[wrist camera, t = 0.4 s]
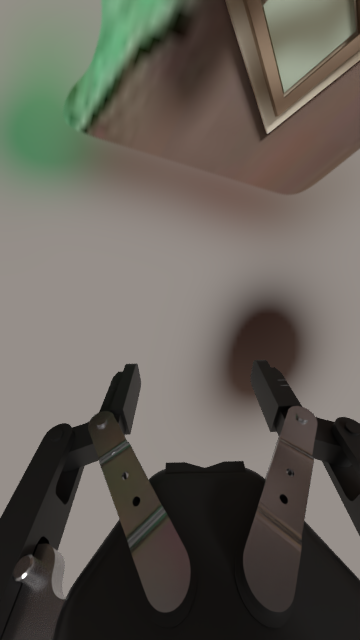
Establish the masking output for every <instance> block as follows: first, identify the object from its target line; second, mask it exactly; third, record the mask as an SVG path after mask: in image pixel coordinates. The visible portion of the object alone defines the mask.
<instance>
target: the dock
mask: <svg viewBox="0 0 360 640" xmlns="http://www.w3.org/2000/svg"><path fill="white" fill-rule="evenodd" d="M225 2H226V5H227V9H228V12H229V15H230V18H231V22H232V25H233V28H234V31H235V34H236V38H237V41H238V44H239V47H240V51H241V54H242V57H243V60H244V63H245V67H246V70H247V73H248V76H249V80H250V83H251V86H252V89H253V92H254V96H255V99H256V102H257V105H258V108H259V112H260V115H261V118H262V121H263V125H264V128H265V131H266V134H268V133H269V132H271V131H272V130H273V129H274V128H276V127H277V126H278V125H279V124H281V123H282V122H283V121H284V120H286V119H287V118H288V117H289V116H291V115H292V114H293V113H294V112H296V111H297V110H298V109H299V108H301V107H302V106H303V105H304V104H306V103H307V102H308V101H309V100H311V99H312V98H313V97H314V96H316V95H317V94H318V93H319V92H321V91H322V90H323V89H324V88H326V87H327V86H328V85H329V84H331V83H332V82H333V81H334V80H336V79H337V78H338V77H339V76H341V75H342V74H343V73H344V72H346V71H347V70H348V69H349V68H351V67H352V66H353V65H354V64H356V63H357V62H358V61H359V60H360V0H225Z"/></svg>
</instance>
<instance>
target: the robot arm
mask: <svg viewBox="0 0 360 640" xmlns="http://www.w3.org/2000/svg"><path fill="white" fill-rule="evenodd" d="M251 384H252V387H253V390H254V392H255V395H256V397H257V400H258V402H259V405H260V407H261V410H262V412H263V415H264V417H265V419H266V422H267V424H268V427H269V429H270V432H277V433H278V435H279V438H278V441H277V444H276V447H275V450H274V453H273V456H272V460H271V463H270V465H269V468H268V472H267V474H266V477H265V479H264V478H263V477H262V476H260V475H259V474H258V473H256V472H254V471H252V470H250V469H247V468H245V466H244V462H243V461H235V462H222V463H219V464H216V465H213V466H210V467H207V468H203V467H199V466H195V465H192V464H188V463H185V462H184V463H166V469H164V470H162V471H160V472H158V473H156V474H155V475H153V476H152V477H151V478H150V479H149V480H148V478H147V476H146V474H145V472H144V470H143V468H142V466H141V464H140V462H139V461H138V459H137V457H136V455H135V453H134V451H133V449H132V447H131V445H130V444H129V442H127V440H126V438H125V436H124V435H125V434H130V433H131V428H132V424H133V419H134V415H135V410H136V406H137V401H138V397H139V392H140V387H141V379H140V374H139V369H138V365H137V364H126V365H125V368H124V371H123V372H118V373H117V374H116V375H115V376H114V377H113V379H112V381H111V385H110V387H109V389H108V392H107V394H106V397H105V399H104V402H103V404H102V407H101V409H100V412H99V413H97V414H96V415H95V416H93V417H92V418H91V420H90V421H89V422H88V423H85V424H83V425H79V426H76V427H73V428H72V427H71V426H70V425H69V424H66V423H64V424H59V425H57V426H55V427H53V428H52V429H50V430H49V431H48V432H47V433H46V435H45V436H44V438H43V440H42V442H41V444H40V445H39V447H38V449H37V451H36V453H35V455H34V457H33V458H32V460H31V462H30V464H29V466H28V468H27V470H26V471H25V473H24V475H23V477H22V479H21V481H20V483H19V485H18V486H17V488H16V490H15V492H14V494H13V496H12V497H11V500H10V501H9V503H8V505H7V507H6V509H5V511H4V512H3V514H2V516H1V518H0V640H360V580H359V579H358V578H357V577H356V576H355V574H354V573H353V572H352V571H351V570H350V569H349V568H348V567H347V566H346V565H345V564H344V563H343V562H342V561H341V559H340V558H339V557H338V556H337V555H336V554H335V553H334V552H333V551H332V550H331V549H330V548H329V547H328V545H327V544H326V543H325V542H324V541H323V540H322V539H321V538H320V537H319V536H318V535H317V534H316V533H315V532H314V531H313V529H311V527H310V526H309V525H308V524H307V523H306V522H305V521H304V519H305V513H306V506H307V500H308V494H309V488H310V481H311V475H312V469H313V463H314V458H315V459H318V460H321V461H322V462H323V464H324V466H325V468H326V470H327V472H328V474H329V476H330V478H331V480H332V482H333V484H334V486H335V488H336V490H337V492H338V494H339V496H340V498H341V500H342V502H343V504H344V506H345V508H346V510H347V512H348V514H349V516H350V517H351V520H352V522H353V523H354V526H355V527H356V530H357V531H358V533H359V535H360V424H359V423H358V422H356V421H354V420H352V419H350V418H346V417H340V418H337V419H336V421H335V422H332V421H328V420H324V419H320V418H317V417H315V416H314V414H313V413H312V412H310V411H309V410H308V409H306V408H303V407H302V406H301V404H300V402H299V401H298V399H297V398H296V396H295V394H294V393H293V391H292V390H291V388H290V386H289V384H288V383H287V381H285V378H284V376H283V375H282V373H281V372H280V371H278V370H277V369H276V368H275V367H274V368H271V367H270V365H269V364H268V362H267V361H266V360H255V361H254V362H253V367H252V373H251ZM98 460H99V461H100V466H101V468H102V471H103V474H104V477H105V480H106V482H107V485H108V488H109V491H110V494H111V496H112V499H113V502H114V505H115V508H116V510H117V513H118V516H119V521H118V522H117V524H116V525H115V527H114V528H113V529H112V531H111V532H110V533H109V535H108V536H107V538H106V539H105V540H104V542H103V543H102V545H101V546H100V547H99V549H98V550H97V552H96V553H95V554H94V556H93V557H92V559H91V560H90V562H89V563H88V564H87V566H86V567H85V568H84V570H83V571H82V573H81V574H80V576H79V577H78V578H77V580H76V581H75V583H74V584H73V586H72V587H71V589H70V591H69V593H68V595H67V597H66V599H65V598H64V595H63V592H62V580H63V574H64V566H65V565H64V559H63V556H62V555H61V554H60V553H59V552H58V551H57V550H58V547H59V544H60V541H61V538H62V535H63V532H64V528H65V525H66V522H67V519H68V516H69V513H70V510H71V507H72V503H73V500H74V497H75V493H76V491H77V488H78V485H79V481H80V478H81V475H82V472H83V469H84V466H85V465H87V464H90V463H92V462H95V461H98Z"/></svg>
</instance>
